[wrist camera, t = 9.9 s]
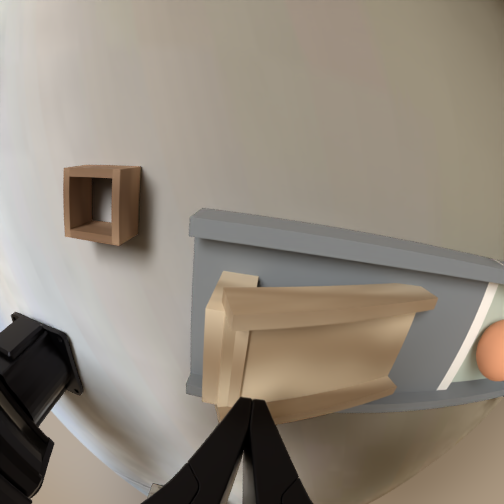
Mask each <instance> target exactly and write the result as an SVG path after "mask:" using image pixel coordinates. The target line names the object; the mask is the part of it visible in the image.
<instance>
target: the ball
mask: <svg viewBox="0 0 504 504" xmlns="http://www.w3.org/2000/svg"><path fill="white" fill-rule="evenodd" d="M476 361H477V365H478V368H479V370H480V372H481V373H482V374H483V375H484V376H485V377H486V378H487V379H489V380H492V381H504V320H500V321H497V322H495V323H493V324H492V325H490V326H489V327H488V328H487V329H486V330H485V331H484V333H483V334H482V336H481V338H480V340H479V342H478V345H477V350H476Z"/></svg>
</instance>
